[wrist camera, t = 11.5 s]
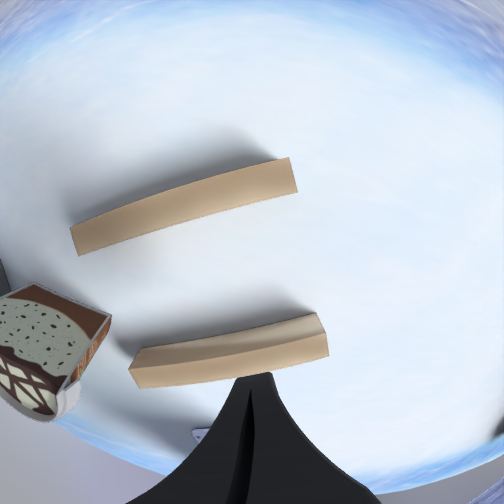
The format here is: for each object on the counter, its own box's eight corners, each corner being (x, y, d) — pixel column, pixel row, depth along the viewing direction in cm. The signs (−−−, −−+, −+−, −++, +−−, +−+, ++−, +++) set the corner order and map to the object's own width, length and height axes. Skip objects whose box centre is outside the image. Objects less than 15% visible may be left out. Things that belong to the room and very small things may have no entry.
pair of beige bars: (320, 334, 20) (329, 356, 17) (150, 367, 21) (139, 388, 18) (282, 161, 17) (288, 157, 14) (91, 221, 18) (69, 227, 15)
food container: (29, 329, 20) (-27, 377, 11) (24, 277, 19) (-47, 317, 9) (125, 374, 21) (81, 453, 11) (127, 320, 20) (64, 400, 10)
